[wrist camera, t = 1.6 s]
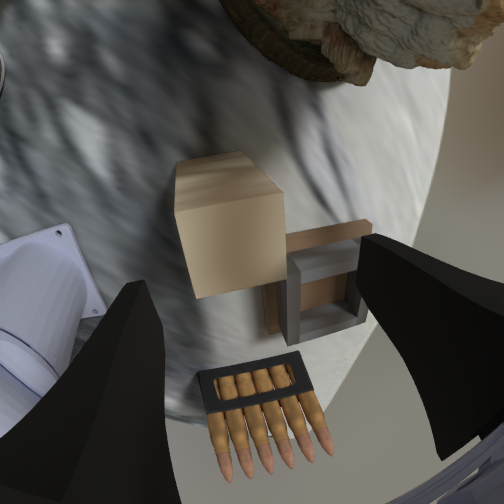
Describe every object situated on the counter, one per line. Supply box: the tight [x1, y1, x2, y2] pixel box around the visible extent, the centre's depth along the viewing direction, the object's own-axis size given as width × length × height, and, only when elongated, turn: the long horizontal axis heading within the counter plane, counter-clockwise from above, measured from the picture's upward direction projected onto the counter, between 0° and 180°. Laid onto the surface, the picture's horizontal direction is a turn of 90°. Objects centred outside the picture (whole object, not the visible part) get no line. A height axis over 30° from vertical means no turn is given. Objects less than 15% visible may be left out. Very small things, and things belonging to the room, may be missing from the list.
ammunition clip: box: [197, 351, 333, 483], centre depth 23 cm, size 11×2×12 cm, turn 93°
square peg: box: [174, 151, 287, 299], centre depth 15 cm, size 4×4×8 cm
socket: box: [262, 219, 372, 346], centre depth 22 cm, size 9×9×4 cm
